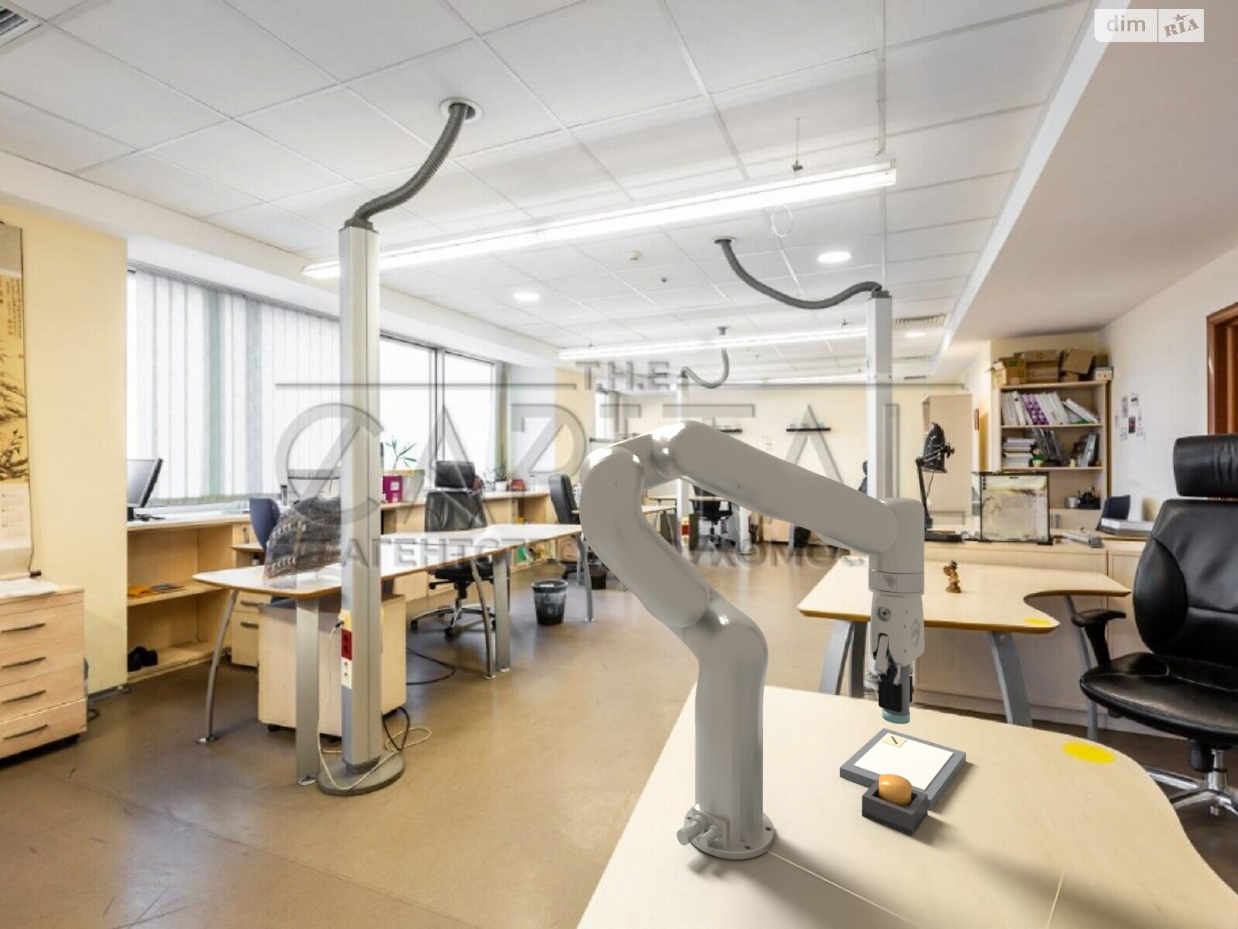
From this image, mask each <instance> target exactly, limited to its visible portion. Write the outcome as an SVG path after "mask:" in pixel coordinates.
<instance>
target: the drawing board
mask: <svg viewBox="0 0 1238 929" xmlns="http://www.w3.org/2000/svg"><path fill="white" fill-rule="evenodd" d="M966 762H967V752H965V751H962V750H958V749H955V748H952V747H949V746H945V745H942V744H939V743H934V742H932V741H928V740H925V739H922V738H919V737H915V736H912V735H908V734H905V733H901V732H898V731H894V730H892V729H889V728H885V727H882V729H880V730H879V731H878V732H877V733H876V734H875V735H874V736H873V737H872V738H870V740H868V742H866V743H865V744H864V745H863V746H862V747H861V748H859V749H858V750H857V751H856V752H855V753H854V754H853V755H852V756H851V757H850V758H848V759H847V760H846V761H845V762H844V763H843V764H842V765H841V766H840V767H839V777H840V778H843V779H845V780H849V781H851V782H853V783H857V784H860V785H862V786H864V787H867V788H870V787H871V786H872V785H873V784H874V783H875V782H876V780H877V779H878V778H879V777H880V776H881V775H883V774H894V775H898V776H901V777H904V778H906V779H907V780H908V781H910V783H911V789H914V790H916V791H919V792H922V793H925V794H928V810H929V811H931V810H933V808H934V806H935V805H936V803H937V802H938V801H939V800H940V797H941V796H942V795H943V793H944V792H945V790H946V789H947V788H948V787H949V785H950V784H951V782H952V781H953V780H954V778H955V777H956V776H957V774H958V773H959V771H960V770H961V769H962V768H963V766H964V764H965V763H966Z"/></svg>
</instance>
